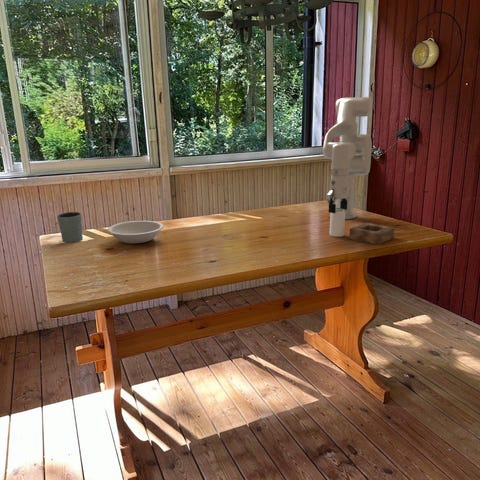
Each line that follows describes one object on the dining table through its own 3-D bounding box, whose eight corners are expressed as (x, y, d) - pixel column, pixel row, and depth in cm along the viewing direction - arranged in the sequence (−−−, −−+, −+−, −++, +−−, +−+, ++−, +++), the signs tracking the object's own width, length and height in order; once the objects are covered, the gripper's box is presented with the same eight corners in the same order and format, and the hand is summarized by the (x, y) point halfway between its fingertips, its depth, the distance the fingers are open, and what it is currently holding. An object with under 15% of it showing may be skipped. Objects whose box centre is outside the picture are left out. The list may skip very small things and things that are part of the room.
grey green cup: (85, 236, 208) (82, 211, 205) (83, 242, 199) (79, 216, 195) (62, 238, 206) (59, 212, 203) (58, 244, 197) (55, 217, 193)
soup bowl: (142, 252, 184) (141, 237, 182) (97, 246, 194) (95, 231, 192) (174, 237, 205) (173, 223, 203) (132, 232, 215) (130, 218, 213)
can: (343, 233, 207) (344, 207, 203) (344, 237, 201) (346, 211, 197) (328, 233, 207) (330, 207, 204) (330, 237, 201) (331, 211, 198)
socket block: (349, 238, 199) (349, 228, 197) (364, 231, 208) (365, 222, 207) (378, 244, 189) (379, 234, 188) (393, 237, 199) (394, 227, 198)
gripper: (336, 175, 187) (334, 215, 192) (357, 171, 199) (355, 209, 204) (321, 173, 192) (319, 212, 196) (342, 170, 204) (340, 207, 209)
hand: (337, 211), depth 200 cm, fingers open, 9 cm apart
